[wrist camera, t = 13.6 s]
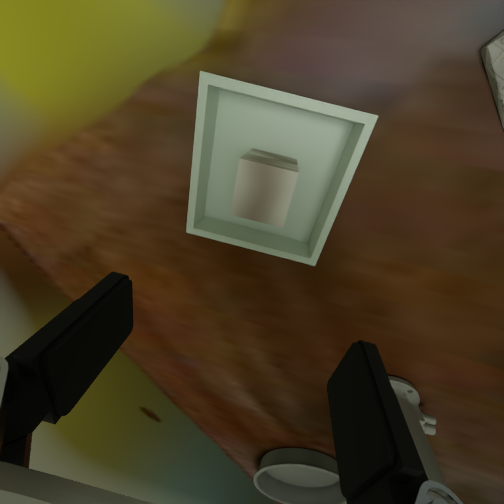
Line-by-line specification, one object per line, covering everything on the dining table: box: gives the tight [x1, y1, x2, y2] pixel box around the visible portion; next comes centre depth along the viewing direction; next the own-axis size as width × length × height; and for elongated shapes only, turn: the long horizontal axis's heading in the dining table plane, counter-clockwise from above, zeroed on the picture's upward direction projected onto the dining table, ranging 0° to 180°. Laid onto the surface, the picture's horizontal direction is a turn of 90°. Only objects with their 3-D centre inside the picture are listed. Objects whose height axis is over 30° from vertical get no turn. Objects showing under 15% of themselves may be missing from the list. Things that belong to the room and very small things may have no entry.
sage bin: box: [186, 71, 378, 266], centre depth 26 cm, size 16×16×5 cm
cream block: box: [230, 148, 299, 228], centre depth 24 cm, size 5×5×8 cm
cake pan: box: [254, 448, 347, 504], centre depth 62 cm, size 25×25×4 cm
